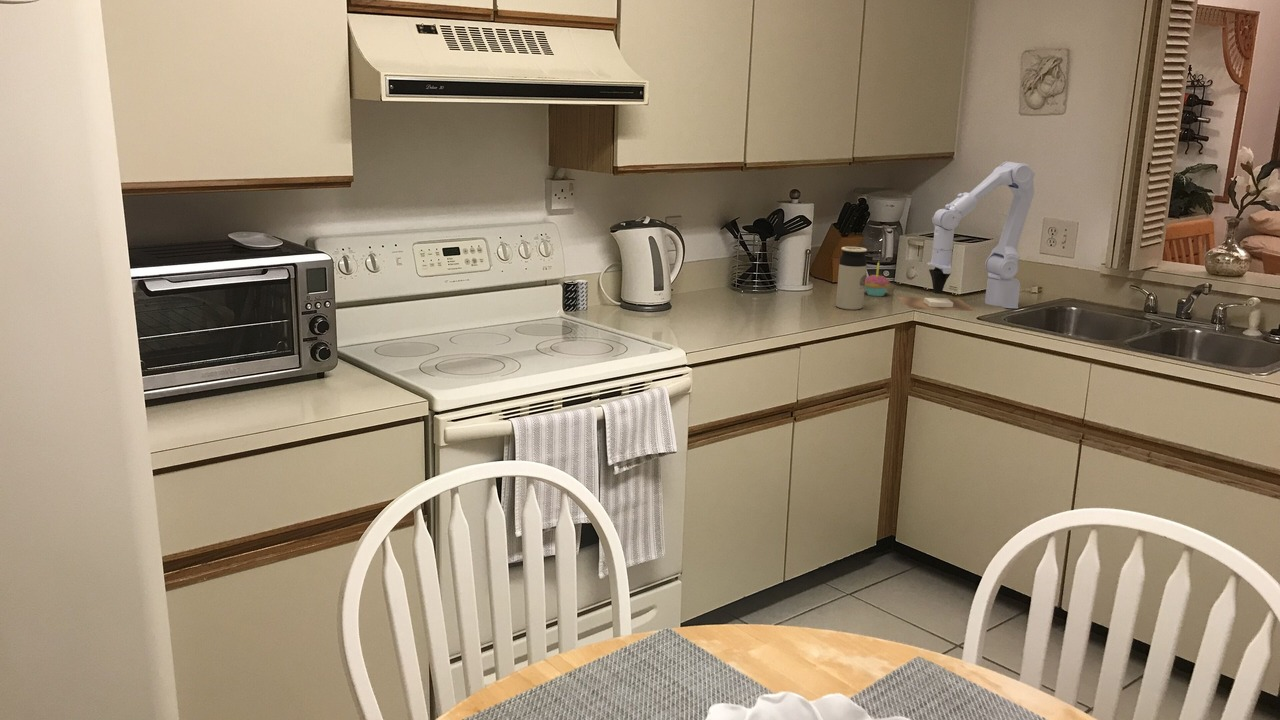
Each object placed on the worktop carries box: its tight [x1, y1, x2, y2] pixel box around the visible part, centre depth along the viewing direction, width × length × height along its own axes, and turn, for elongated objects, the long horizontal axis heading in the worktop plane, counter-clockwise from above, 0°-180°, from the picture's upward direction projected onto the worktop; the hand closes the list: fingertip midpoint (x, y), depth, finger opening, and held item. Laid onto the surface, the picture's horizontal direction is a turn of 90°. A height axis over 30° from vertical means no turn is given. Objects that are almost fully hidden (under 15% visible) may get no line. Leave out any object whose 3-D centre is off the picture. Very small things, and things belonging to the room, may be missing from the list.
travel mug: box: [835, 246, 868, 311], centre depth 305 cm, size 8×8×18 cm
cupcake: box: [864, 260, 891, 297], centre depth 323 cm, size 9×8×12 cm
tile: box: [923, 297, 953, 308], centre depth 310 cm, size 7×2×6 cm
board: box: [896, 296, 978, 312], centre depth 313 cm, size 20×18×1 cm
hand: (937, 293), depth 311 cm, fingers closed
